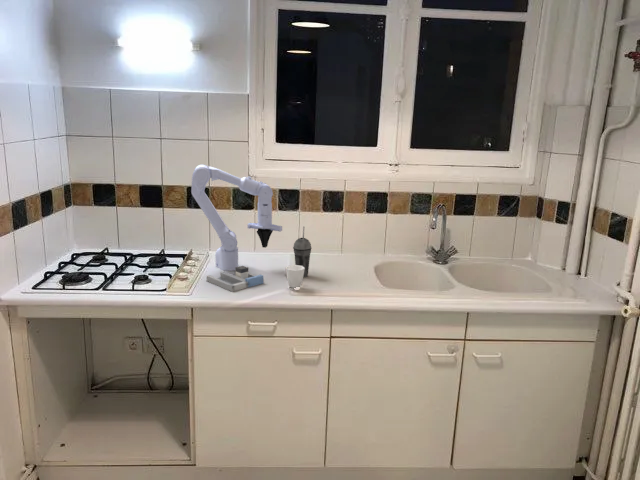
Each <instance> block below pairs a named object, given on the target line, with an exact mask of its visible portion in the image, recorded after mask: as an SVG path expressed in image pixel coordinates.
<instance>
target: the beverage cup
mask: <svg viewBox="0 0 640 480" xmlns="http://www.w3.org/2000/svg"><path fill="white" fill-rule="evenodd" d="M292 249H293V253H294V265H299V266H303V267H304V268H305V270H304V275H303V277H306V278H308V276H309V275H308V274H309V269H310V261H311V252H312V244H311V242H310V240H309V239H307V238H306V237H305V226H303V227H302V237H299V238H297V239H296V240H295V241H294V243H293V246H292Z"/></svg>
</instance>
